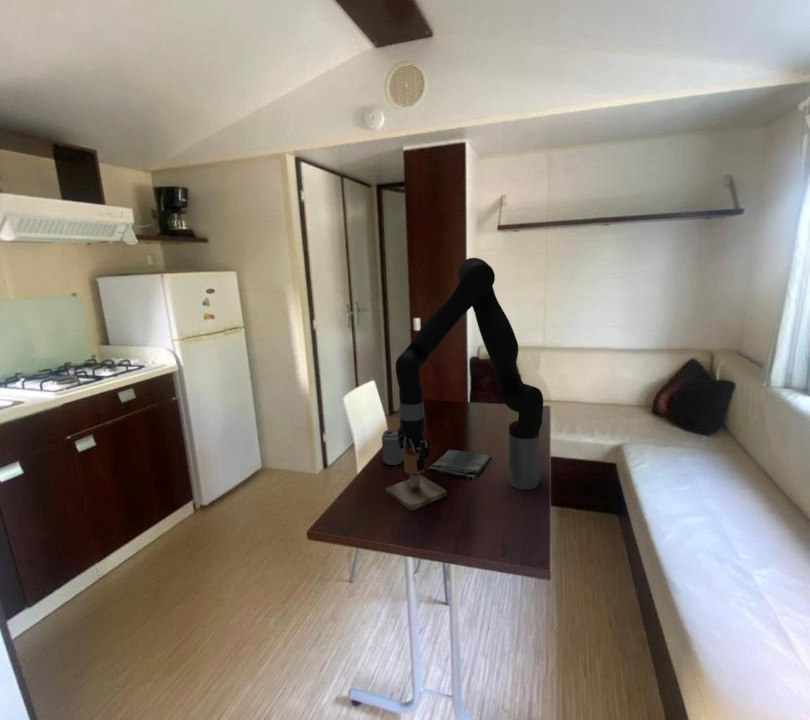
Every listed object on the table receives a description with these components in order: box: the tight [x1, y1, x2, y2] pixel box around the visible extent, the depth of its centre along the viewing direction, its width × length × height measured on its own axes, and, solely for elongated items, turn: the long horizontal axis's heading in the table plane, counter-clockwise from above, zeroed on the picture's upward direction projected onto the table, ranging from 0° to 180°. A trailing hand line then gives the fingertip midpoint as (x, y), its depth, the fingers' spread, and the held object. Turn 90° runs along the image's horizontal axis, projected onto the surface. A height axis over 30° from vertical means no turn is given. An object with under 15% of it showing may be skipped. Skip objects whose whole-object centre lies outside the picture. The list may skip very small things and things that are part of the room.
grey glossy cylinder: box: [409, 473, 421, 492], centre depth 135 cm, size 3×3×6 cm
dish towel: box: [427, 449, 493, 481], centre depth 154 cm, size 19×18×3 cm
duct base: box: [385, 474, 448, 512], centre depth 136 cm, size 14×14×2 cm
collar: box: [403, 447, 425, 475], centre depth 134 cm, size 6×6×6 cm
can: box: [381, 428, 404, 466], centre depth 158 cm, size 8×8×12 cm
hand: (414, 466), depth 134 cm, fingers closed on collar, 6 cm apart
